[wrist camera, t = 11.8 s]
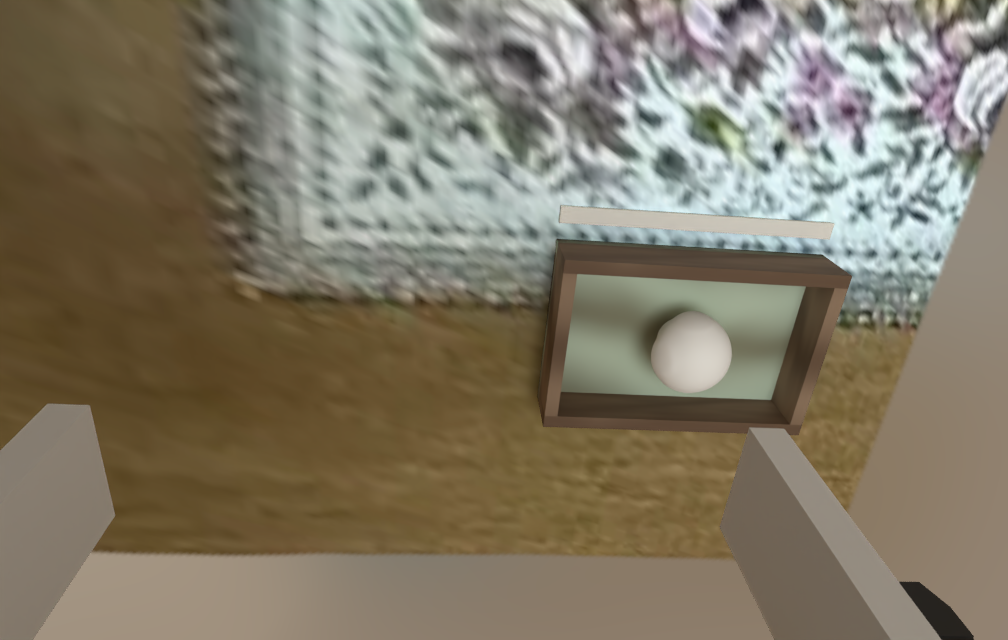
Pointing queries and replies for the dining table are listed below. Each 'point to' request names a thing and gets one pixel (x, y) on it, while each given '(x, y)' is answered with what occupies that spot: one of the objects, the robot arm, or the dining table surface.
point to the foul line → (695, 222)
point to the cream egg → (691, 352)
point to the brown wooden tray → (659, 298)
